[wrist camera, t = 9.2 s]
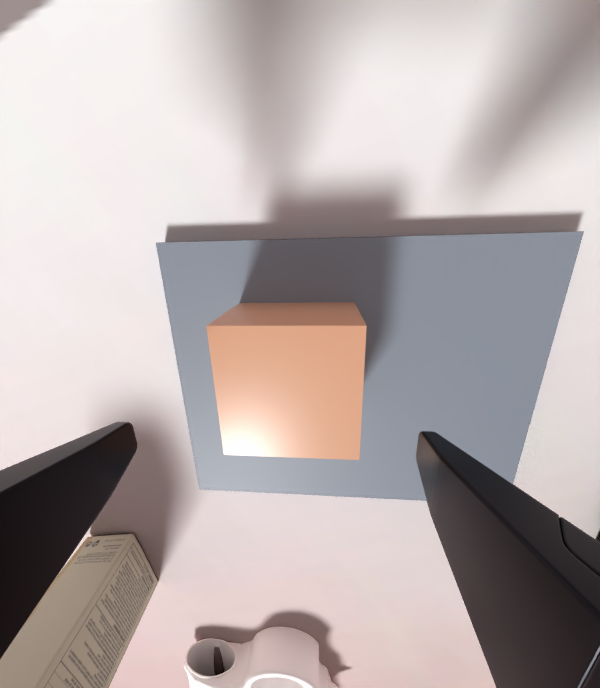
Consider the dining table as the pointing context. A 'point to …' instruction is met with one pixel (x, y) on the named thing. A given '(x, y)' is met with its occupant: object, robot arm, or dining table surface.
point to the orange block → (289, 379)
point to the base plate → (384, 346)
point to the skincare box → (83, 618)
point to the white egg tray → (260, 662)
